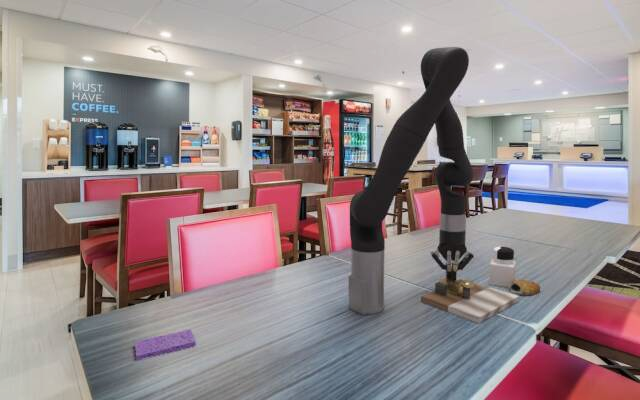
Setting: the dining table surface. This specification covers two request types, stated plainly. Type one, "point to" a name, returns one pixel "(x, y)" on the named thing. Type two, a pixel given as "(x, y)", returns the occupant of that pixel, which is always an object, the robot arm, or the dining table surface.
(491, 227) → the dining table surface
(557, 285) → the dining table surface
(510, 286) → the pastry
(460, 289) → the latch bar
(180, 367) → the dining table surface
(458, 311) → the door board
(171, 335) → the sponges
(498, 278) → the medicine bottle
